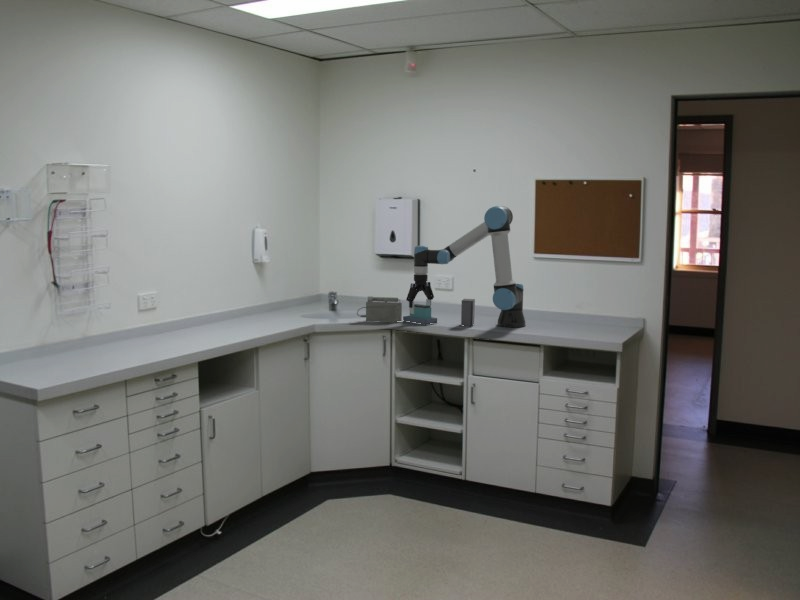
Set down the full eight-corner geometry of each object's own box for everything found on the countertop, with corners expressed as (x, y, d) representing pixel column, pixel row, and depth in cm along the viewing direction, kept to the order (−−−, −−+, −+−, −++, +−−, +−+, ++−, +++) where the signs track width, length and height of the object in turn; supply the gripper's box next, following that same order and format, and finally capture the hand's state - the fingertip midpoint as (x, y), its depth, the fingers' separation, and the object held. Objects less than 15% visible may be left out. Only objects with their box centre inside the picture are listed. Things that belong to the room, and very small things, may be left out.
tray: (437, 323, 411) (437, 318, 411) (425, 325, 404) (425, 319, 404) (414, 319, 423) (414, 314, 422) (403, 321, 416) (403, 316, 415)
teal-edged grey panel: (431, 322, 411) (431, 305, 410) (425, 322, 407) (425, 306, 406) (415, 319, 419) (415, 303, 418) (409, 320, 416) (409, 304, 415)
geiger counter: (402, 296, 416) (357, 295, 418) (401, 297, 409) (356, 296, 412) (402, 321, 417) (357, 320, 420) (400, 323, 411) (355, 321, 414)
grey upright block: (474, 324, 409) (474, 299, 407) (472, 326, 401) (472, 300, 399) (463, 324, 410) (463, 298, 408) (461, 326, 403) (461, 300, 401)
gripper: (430, 272, 421) (429, 309, 424) (400, 274, 404) (399, 313, 406) (440, 273, 416) (440, 310, 419) (410, 275, 398) (409, 315, 401)
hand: (420, 312), depth 413 cm, fingers open, 13 cm apart
